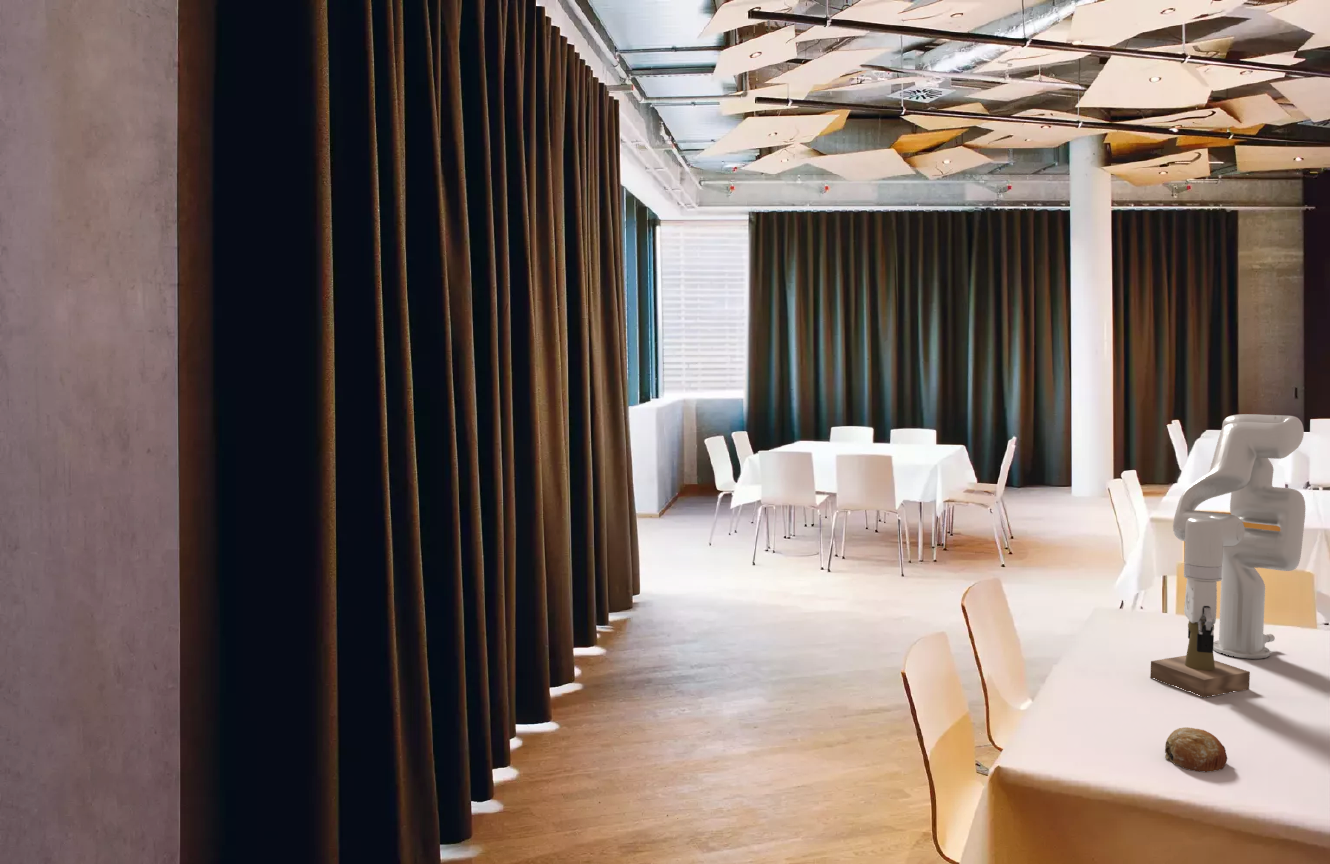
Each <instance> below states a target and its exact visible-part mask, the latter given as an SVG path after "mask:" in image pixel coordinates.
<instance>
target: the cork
mask: <svg viewBox="0 0 1330 864" xmlns="http://www.w3.org/2000/svg"><path fill="white" fill-rule="evenodd" d="M1200 621H1203V620H1200ZM1202 626H1203V625H1202ZM1188 629H1189V630H1190V632H1191V633H1190V638H1188V644H1187V652H1186V655H1185V656H1186V660H1185V665H1186V666H1187V667H1189V668H1192V669H1197V670H1213V669H1215V664H1214V660H1215V658H1214V657H1215V655H1214V652H1213V653H1206V652H1198V651H1197V634H1199V631H1198V622H1195V623H1194V624H1193V623H1191V622H1190V621H1189V620H1188V623H1187V630H1188ZM1214 630H1215V624H1213V632H1214Z"/></svg>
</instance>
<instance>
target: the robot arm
mask: <svg viewBox="0 0 1330 864" xmlns="http://www.w3.org/2000/svg"><path fill="white" fill-rule="evenodd" d="M1221 426H1222V427H1221V430H1220V433H1219V437H1218V440H1217V443H1216V447H1215V451H1214V453H1213V458H1212V460H1211V463H1210V467H1209V471H1208V472H1207V473H1206V474H1205V475H1203V476H1201V477H1200V478H1198V479H1197V480H1196V481H1194V482H1192V484H1190V485H1189V487H1187V488H1186V489H1185V490H1184V491H1183V493H1182V494H1181V495H1180V498H1179V501H1178V504H1177V507H1176V510H1175V514H1174V517H1173V523H1172V532H1173V534H1174V536H1175V537H1176V538H1177V539H1178V540H1180V541H1181V542H1182V541H1183V542H1184V562H1183V564H1184V565H1183V577H1184V578H1185V579H1186V584H1185V597H1184V609H1183V613H1184V616H1185V617H1186V618H1187V619H1188V622H1189V621H1190V622H1191V623H1193V624H1194V623H1195V622H1198V631H1199V634H1197V651H1198V652H1206V653H1213V654H1214V652H1217V653H1220V654H1221V653H1223V654H1222V655H1224V654H1226V655H1225V656H1228V655H1229V657H1233V656H1234V658H1239V659H1248V660H1249V659H1251V660H1253V659H1254V660H1258V659H1259V660H1261V659H1266V658H1268V657H1270V655H1271V650H1270V649H1269V648H1268V647H1266V643H1273V642H1275V640H1276V639H1275V636H1274V634H1272V633H1269V634H1267V633H1266V634H1265V633H1264V626H1265V602H1266V599H1265V597H1266V584H1265V582H1264V579H1263V577H1262V576H1261V575H1260V573H1259V572H1258V570H1257V569H1265V570H1274V571H1282V572H1283V571H1284V572H1290V571H1291V572H1292V571H1294V570H1295V569H1297V568H1298V566H1299V564H1300V562H1301V556H1302V549H1303V539H1304V531H1305V530H1304V529H1305V520H1306V500H1305V498H1304V495H1303V493H1301V491H1299V490H1297V489H1293V488H1289V487H1278V486H1273V477H1274V471H1275V470H1274V466H1273V463H1272V462H1271V461H1270V459H1273V460H1274V459H1275V460H1277V459H1278V460H1280V459H1285V458H1287V457H1288V456H1289V455H1291V454H1292V453H1293V452H1295V451H1297V449H1299V447H1300V445H1301V444H1302V442H1303V439H1304V434H1305V432H1304V425H1303V422H1302V421H1301V420H1300V418H1298V417H1297V416H1294V415H1280V414H1276V415H1275V414H1259V413H1257V414H1255V413H1253V414H1250V413H1249V414H1247V413H1245V414H1242V413H1241V414H1233V415H1232V414H1231V415H1229V416H1227V417H1225V418H1224V420H1223V421H1222V425H1221ZM1227 494H1230V501H1229V512H1230V514H1229V513H1220V512H1213V511H1203V510H1202V511H1200V510H1196V508H1197V507H1199V505H1200V504H1202V503H1204V502H1206V501H1208V500H1210V499H1212V498H1217V497H1219V496H1220V497H1221V496H1224V495H1227ZM1244 523H1248V524H1249V523H1250V524H1257V525H1258V524H1259V525H1267V526H1276V527H1279V529H1280V530H1279V531H1278V530H1271V529H1270V530H1269V529H1262V528H1254V527H1245V524H1244ZM1217 582H1220V597H1219V598H1220V599H1219V600H1220V601H1219V602H1220V605H1219V625H1218V626H1219V631H1218V640H1215V639H1214V637H1215V635H1214V631H1213V624H1214V625H1215V624H1216V622H1217V606H1218V605H1217V603H1218V602H1217V600H1218V599H1217V598H1218V597H1217V596H1218V595H1217V594H1218V593H1217V592H1218V587H1217ZM1200 620H1203V621H1200ZM1202 625H1203V626H1202ZM1190 633H1191V632H1190V630H1189V629H1188V628H1187V638H1188V639H1189V638H1190Z"/></svg>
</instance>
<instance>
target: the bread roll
mask: <svg viewBox="0 0 1330 864" xmlns="http://www.w3.org/2000/svg"><path fill="white" fill-rule="evenodd" d="M1164 747H1165V748H1164V753H1165V756H1164V758H1165V760H1168V761H1169V762H1171V763H1173V764H1174V763H1175V764H1174V765H1176V766H1179V767H1180V768H1183V769H1185V770H1188V769H1190V770H1189V771H1192V770H1195V771H1194V772H1200V771H1205V772H1204V773H1208V772H1207V771H1211V772H1215V771H1214V770H1217V771H1220V770H1219V769H1221V770H1222V769H1223V768H1224V767H1225V766H1226V764H1227V761H1228V756H1227V752H1226V751H1227V750H1226V748H1225V746H1224V745H1223V744H1222V743H1221V740H1219V739H1218V737H1216V736H1215V735H1214V734H1213V733H1210V732H1209V731H1206V730H1204V729H1200V728H1194V727H1179V728H1177V729H1175V730H1173V731H1172V732H1171V733H1170V735H1168V737H1167V739H1166V741H1165V746H1164Z"/></svg>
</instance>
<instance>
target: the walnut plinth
mask: <svg viewBox="0 0 1330 864" xmlns="http://www.w3.org/2000/svg"><path fill="white" fill-rule="evenodd" d="M1185 660H1186V655H1182V656H1181V655H1180V656H1176V657H1175V656H1174V657H1169V658H1163V659H1162V658H1161V659H1156V660H1151V661H1150V679H1152V678H1155V679H1157V680H1159V681H1158V682H1160V681H1162V682H1161V683H1163V682H1165V683H1167V684H1166V685H1168V684H1170V685H1169V686H1171V685H1174V686H1177V687H1179V688H1182V689H1184V690H1186V691H1185V692H1187V691H1191V692H1193V693H1195V694H1198V695H1200V696H1202V697H1201V698H1203V697H1205V698H1208V697H1207V696H1210V697H1213V696H1212V695H1216V696H1219V695H1218V694H1221V695H1224V694H1223V693H1226V694H1230V693H1229V692H1232V693H1234V692H1233V691H1237V692H1241V691H1242V692H1243V691H1247V690H1250V679H1251V678H1250V677H1251V672H1250V671H1249V670H1245V669H1242V668H1240V667H1236V666H1233V665H1230V664H1228V663H1223V662H1222V661H1218V660H1215V659H1214V664H1215V669H1213V670H1197V669H1192V668H1189V667H1187V666H1186V665H1185ZM1157 680H1156V681H1157ZM1165 683H1164V684H1165ZM1179 688H1178V689H1179ZM1184 690H1183V691H1184ZM1195 694H1194V695H1195ZM1198 695H1197V696H1198ZM1200 696H1199V697H1200Z"/></svg>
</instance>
